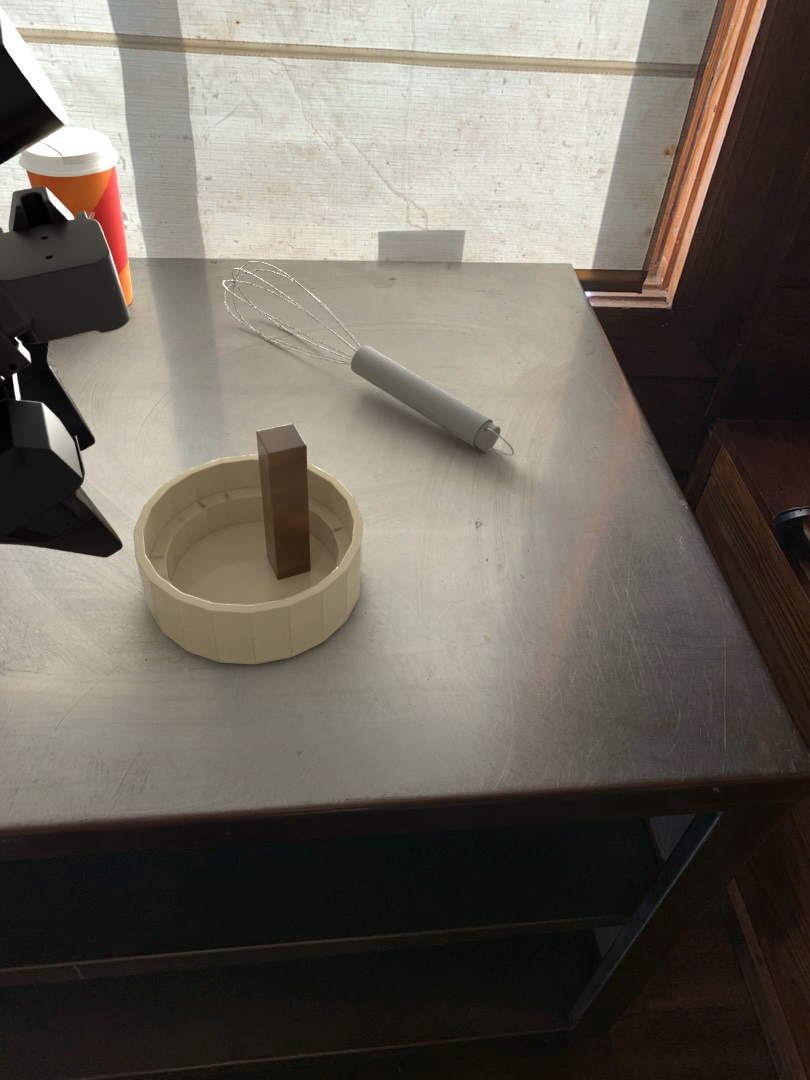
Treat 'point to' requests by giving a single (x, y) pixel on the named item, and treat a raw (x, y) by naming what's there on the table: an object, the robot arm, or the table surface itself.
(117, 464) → the table surface
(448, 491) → the table surface
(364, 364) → the kitchen whisk
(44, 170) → the coffee cup
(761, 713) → the table surface
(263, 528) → the bowl
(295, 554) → the stir stick
